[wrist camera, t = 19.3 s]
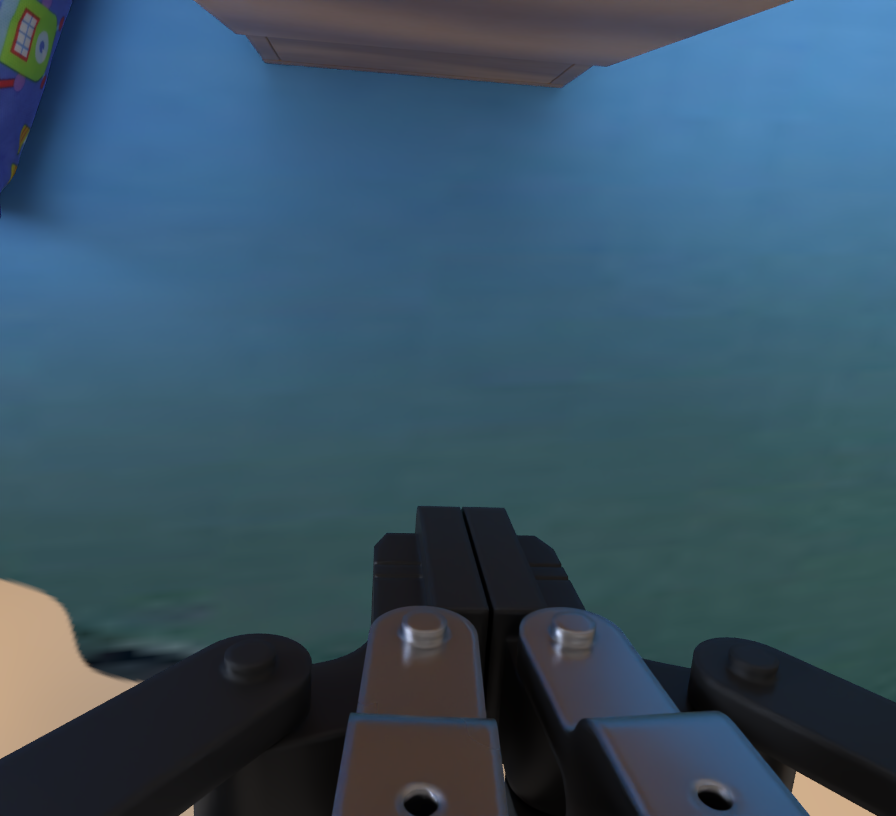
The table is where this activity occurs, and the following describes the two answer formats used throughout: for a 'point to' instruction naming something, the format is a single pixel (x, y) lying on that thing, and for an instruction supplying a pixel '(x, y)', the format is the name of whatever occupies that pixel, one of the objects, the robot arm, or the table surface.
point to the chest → (415, 62)
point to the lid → (490, 24)
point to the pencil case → (24, 70)
